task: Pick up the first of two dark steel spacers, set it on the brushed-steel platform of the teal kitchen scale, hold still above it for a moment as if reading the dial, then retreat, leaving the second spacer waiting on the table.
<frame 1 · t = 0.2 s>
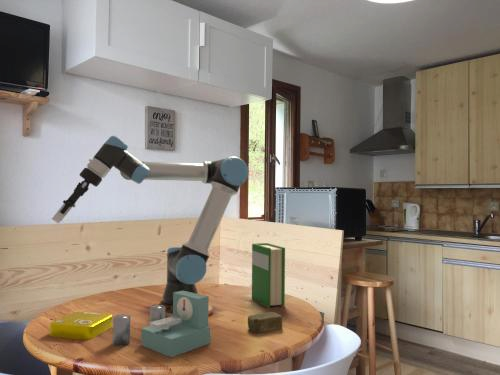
hand: (56, 220, 148), 36 cm above the table, tool tilted 35°, fingers open, 13 cm apart
stone block: (265, 330, 140), on the table
hardback book: (267, 302, 177), on the table
platform: (165, 325, 122), point 6 cm above the table, slide at 0.0 cm, touching scale body
scale body: (176, 344, 125), on the table
spacer b: (157, 331, 137), on the table
spacer a: (121, 343, 126), on the table
element tile: (82, 332, 137), on the table
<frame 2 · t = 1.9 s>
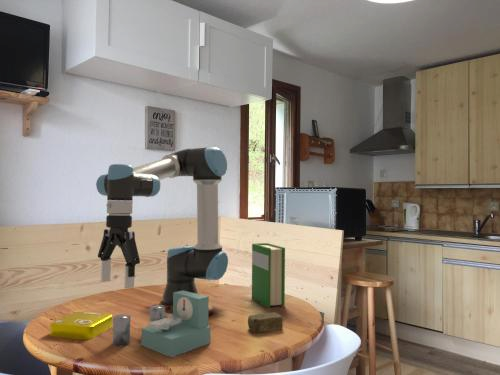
hand: (117, 284, 126), 18 cm above the table, tool pointing down, fingers open, 13 cm apart
nothing on the table moved.
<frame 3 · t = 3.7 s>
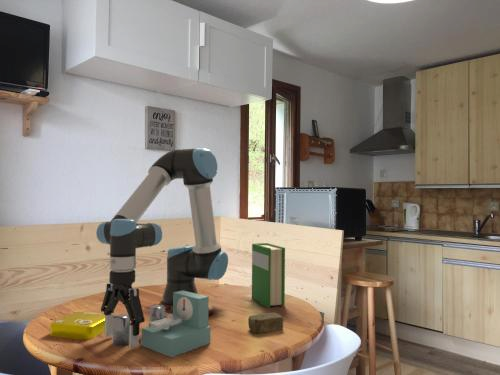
hand: (121, 340, 126), 1 cm above the table, tool pointing down, fingers open, 12 cm apart
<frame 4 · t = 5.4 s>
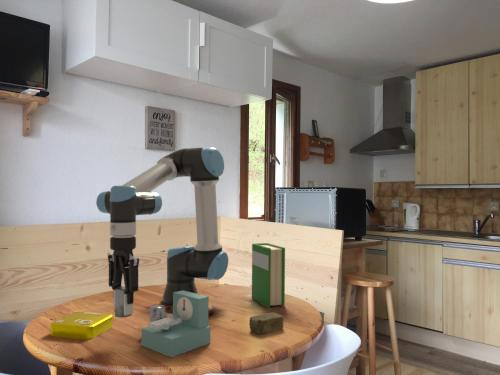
hand: (123, 312, 126), 9 cm above the table, tool pointing down, fingers closed on spacer a, 5 cm apart
spacer a: (123, 314, 126), point 8 cm above the table, touching gripper
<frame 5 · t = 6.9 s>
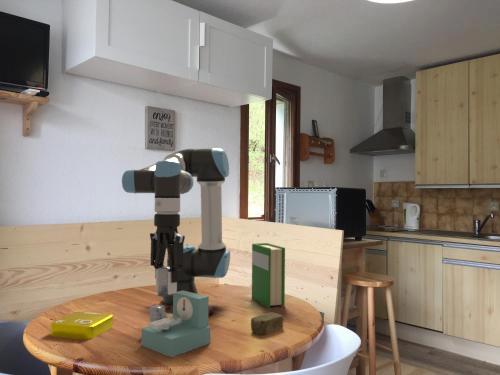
hand: (166, 291, 123), 16 cm above the table, tool pointing down, fingers closed on spacer a, 5 cm apart
spacer a: (165, 294, 122), point 16 cm above the table, touching gripper
when the fingers open (8 cm above the table, at t = 8.6 s): spacer a stays where it is, resting on platform.
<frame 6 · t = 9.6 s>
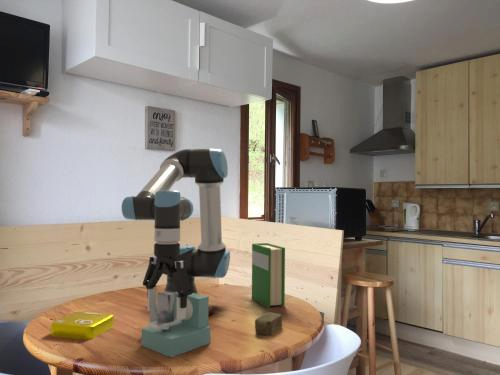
hand: (166, 314, 122), 10 cm above the table, tool pointing down, fingers open, 13 cm apart
platform: (165, 325, 122), point 6 cm above the table, slide at 0.0 cm, touching scale body, spacer a
spacer a: (165, 320, 122), point 8 cm above the table, touching platform
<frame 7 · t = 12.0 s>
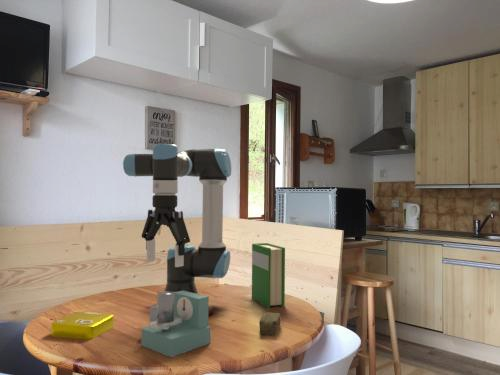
hand: (164, 263, 127), 24 cm above the table, tool pointing down, fingers open, 13 cm apart
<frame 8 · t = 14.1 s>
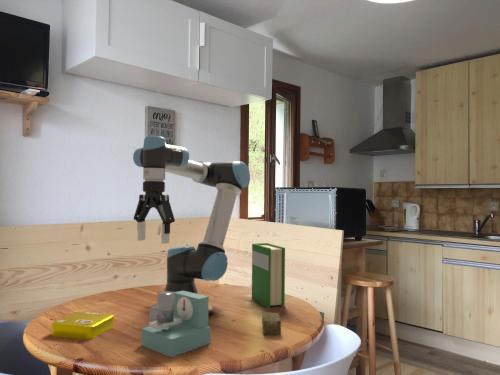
hand: (153, 241, 144), 29 cm above the table, tool pointing down, fingers open, 13 cm apart
at the end: spacer a inside the target area on the platform (0.1 cm from its centre), point 8.0 cm above the platform's base; spacer a touching platform; the gripper is holding nothing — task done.
